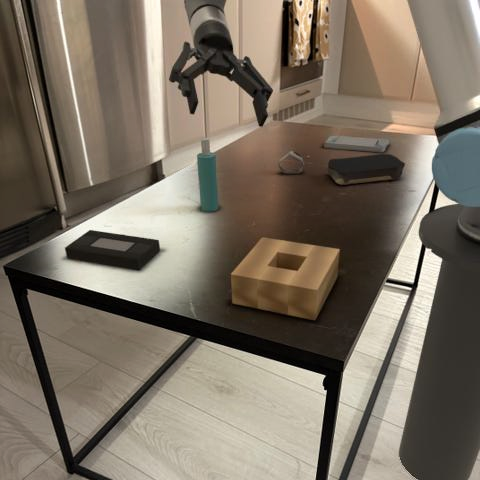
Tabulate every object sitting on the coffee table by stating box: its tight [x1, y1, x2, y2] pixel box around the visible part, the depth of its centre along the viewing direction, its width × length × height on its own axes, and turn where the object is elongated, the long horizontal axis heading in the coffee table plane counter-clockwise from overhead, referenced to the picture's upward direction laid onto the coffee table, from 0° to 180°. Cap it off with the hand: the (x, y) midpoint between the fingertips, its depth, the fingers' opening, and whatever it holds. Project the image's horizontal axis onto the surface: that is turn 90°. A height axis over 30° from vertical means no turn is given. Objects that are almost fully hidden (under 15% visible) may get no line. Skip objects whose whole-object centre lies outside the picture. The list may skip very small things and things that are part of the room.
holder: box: [230, 237, 341, 321], centre depth 75 cm, size 13×13×5 cm
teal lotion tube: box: [196, 137, 219, 213], centre depth 100 cm, size 4×4×14 cm
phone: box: [323, 134, 389, 154], centre depth 136 cm, size 8×16×1 cm, turn 68°
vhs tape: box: [64, 229, 161, 271], centre depth 87 cm, size 8×14×2 cm, turn 70°
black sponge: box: [326, 153, 406, 186], centre depth 115 cm, size 16×8×4 cm, turn 101°
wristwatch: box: [277, 150, 305, 175], centre depth 119 cm, size 4×6×5 cm, turn 93°
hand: (229, 115), depth 91 cm, fingers open, 13 cm apart
